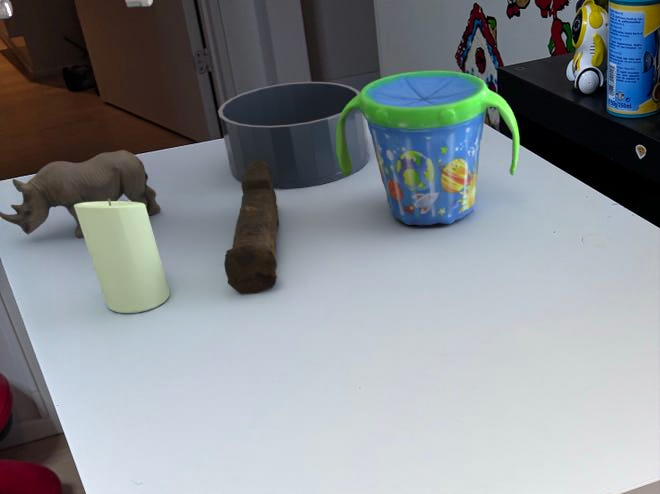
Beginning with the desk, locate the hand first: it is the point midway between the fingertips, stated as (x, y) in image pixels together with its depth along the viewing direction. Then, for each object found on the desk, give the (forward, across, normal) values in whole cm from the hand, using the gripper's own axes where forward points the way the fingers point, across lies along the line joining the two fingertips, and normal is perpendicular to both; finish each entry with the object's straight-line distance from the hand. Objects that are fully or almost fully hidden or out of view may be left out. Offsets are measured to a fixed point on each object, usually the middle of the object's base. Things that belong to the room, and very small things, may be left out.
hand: (70, 11), depth 68 cm
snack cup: (+20, -23, -12) cm, 33 cm away
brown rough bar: (+20, -8, -8) cm, 23 cm away
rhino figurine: (+20, +8, -15) cm, 26 cm away
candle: (+20, +1, +1) cm, 20 cm away
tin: (+20, -10, -28) cm, 36 cm away
